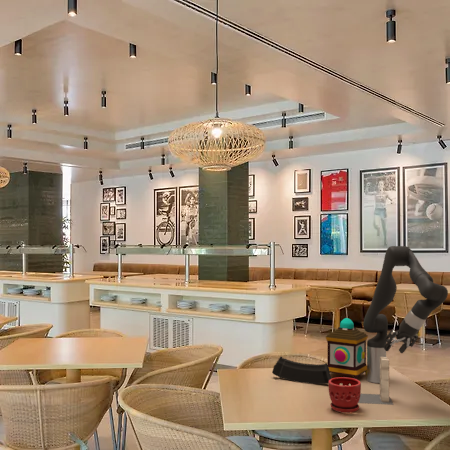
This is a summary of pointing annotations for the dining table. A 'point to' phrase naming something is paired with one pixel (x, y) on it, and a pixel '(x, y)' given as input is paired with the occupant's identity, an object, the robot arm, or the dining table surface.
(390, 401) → the mat
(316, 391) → the dining table surface
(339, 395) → the plant pot
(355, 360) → the decorative lantern
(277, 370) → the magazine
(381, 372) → the slab
